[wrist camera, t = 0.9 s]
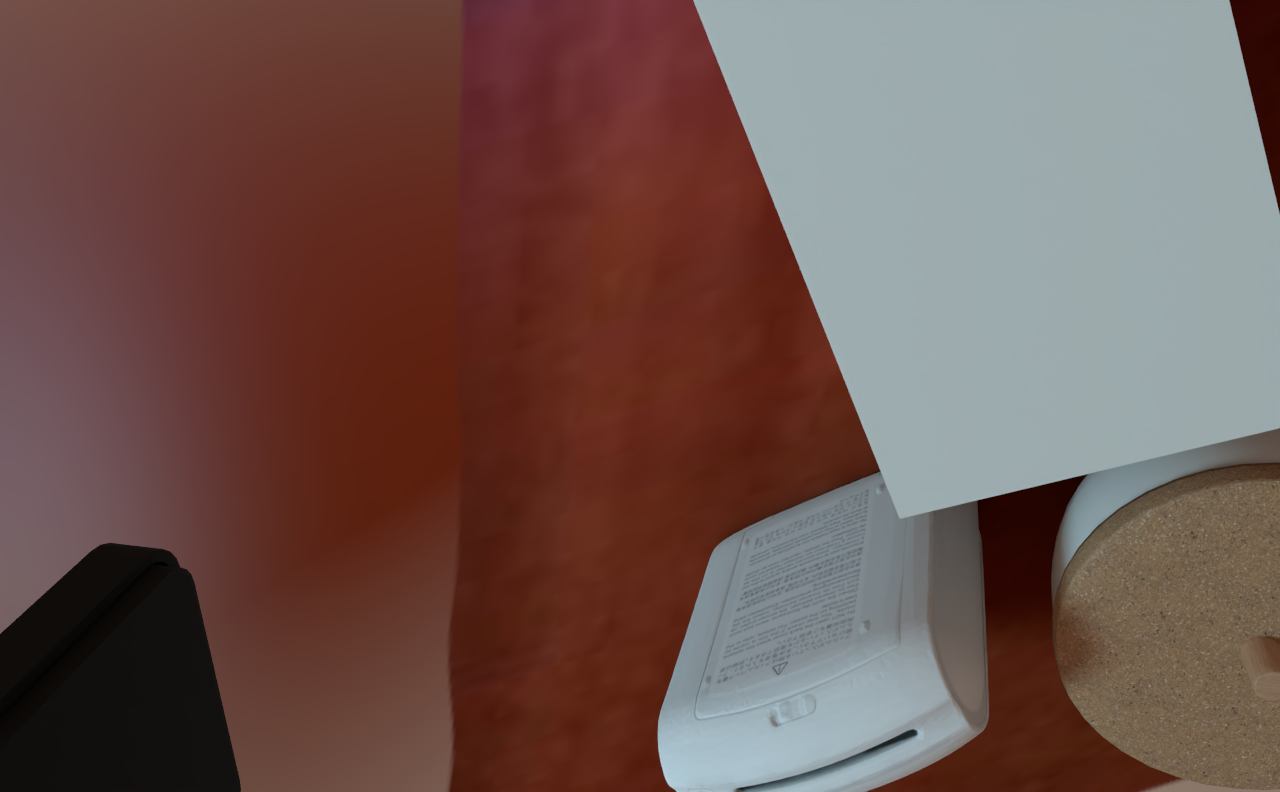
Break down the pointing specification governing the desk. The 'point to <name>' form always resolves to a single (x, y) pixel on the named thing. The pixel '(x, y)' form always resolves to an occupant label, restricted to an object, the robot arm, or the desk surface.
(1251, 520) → the lidded jar
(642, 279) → the desk surface
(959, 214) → the storage box
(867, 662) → the photo printer
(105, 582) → the robot arm
